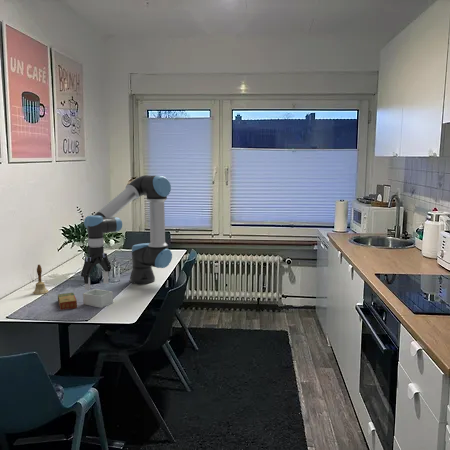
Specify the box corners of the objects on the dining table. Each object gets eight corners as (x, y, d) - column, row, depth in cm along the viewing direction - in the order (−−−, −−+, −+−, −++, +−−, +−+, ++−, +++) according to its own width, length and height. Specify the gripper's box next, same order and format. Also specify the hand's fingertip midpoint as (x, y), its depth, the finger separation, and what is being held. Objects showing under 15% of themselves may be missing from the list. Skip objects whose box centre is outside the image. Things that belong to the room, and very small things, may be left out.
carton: (60, 310, 226) (59, 302, 226) (57, 301, 241) (57, 293, 240) (77, 308, 230) (77, 300, 229) (74, 299, 244) (73, 291, 244)
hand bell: (30, 292, 256) (28, 264, 254) (45, 289, 262) (43, 262, 259) (35, 295, 250) (33, 267, 248) (50, 292, 255) (49, 265, 253)
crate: (95, 299, 243) (95, 288, 242) (113, 302, 237) (112, 291, 237) (83, 304, 235) (82, 293, 234) (101, 307, 229) (101, 296, 229)
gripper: (106, 241, 244) (107, 280, 247) (72, 249, 222) (73, 291, 225) (117, 242, 241) (118, 281, 244) (83, 250, 219) (85, 293, 222)
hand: (97, 286), depth 234 cm, fingers open, 13 cm apart
